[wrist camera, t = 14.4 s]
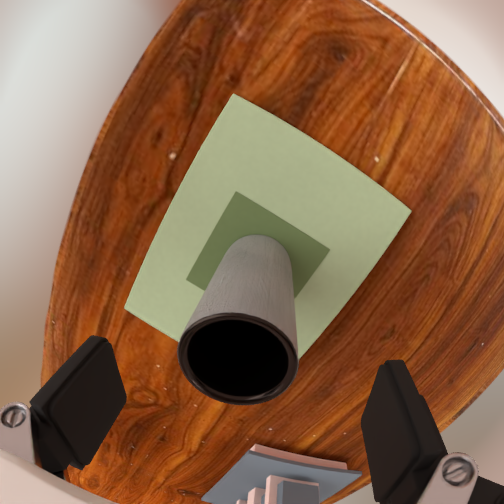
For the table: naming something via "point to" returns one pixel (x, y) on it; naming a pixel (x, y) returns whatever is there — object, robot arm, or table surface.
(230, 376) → the gray hollow cylinder
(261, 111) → the mat
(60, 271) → the table surface
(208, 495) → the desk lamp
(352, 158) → the table surface
